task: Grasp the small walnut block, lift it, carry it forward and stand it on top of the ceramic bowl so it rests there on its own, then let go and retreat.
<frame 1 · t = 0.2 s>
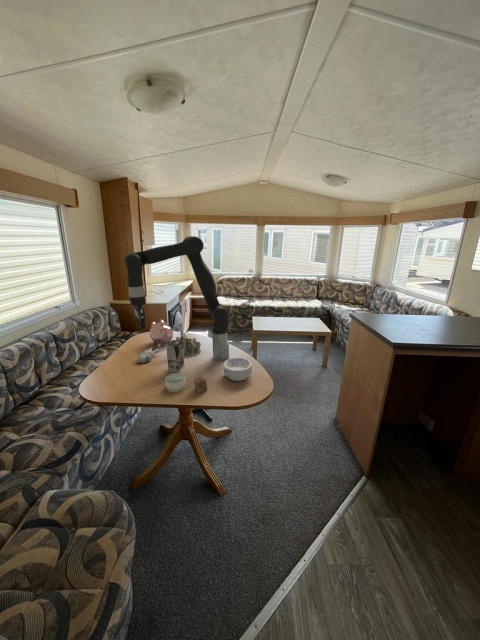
hand: (141, 325, 134), 29 cm above the table, fingers open, 8 cm apart
bunny figurine: (148, 359, 164), on the table
walnut block: (201, 389, 129), on the table
ceramic cottage: (187, 353, 171), on the table
ceramic bowl: (176, 386, 132), on the table
white purple floral bowl: (237, 377, 141), on the table
piggy bank: (162, 343, 188), on the table
coffee box: (176, 368, 151), on the table
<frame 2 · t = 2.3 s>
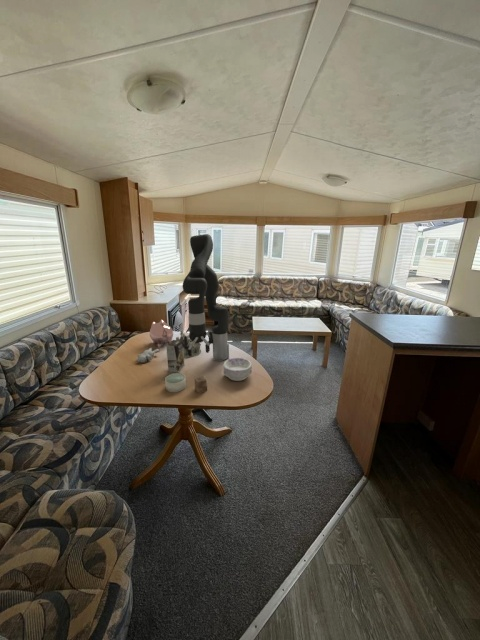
hand: (198, 354, 124), 19 cm above the table, fingers open, 8 cm apart
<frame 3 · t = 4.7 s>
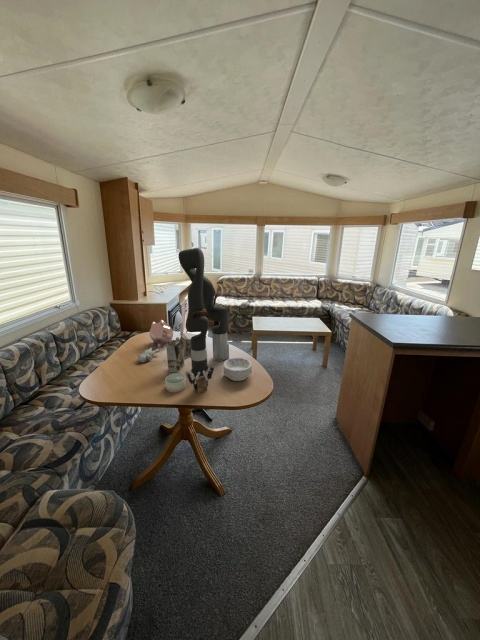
hand: (200, 388, 129), 1 cm above the table, fingers closed on walnut block, 4 cm apart
walnut block: (201, 389, 129), on the table, touching gripper
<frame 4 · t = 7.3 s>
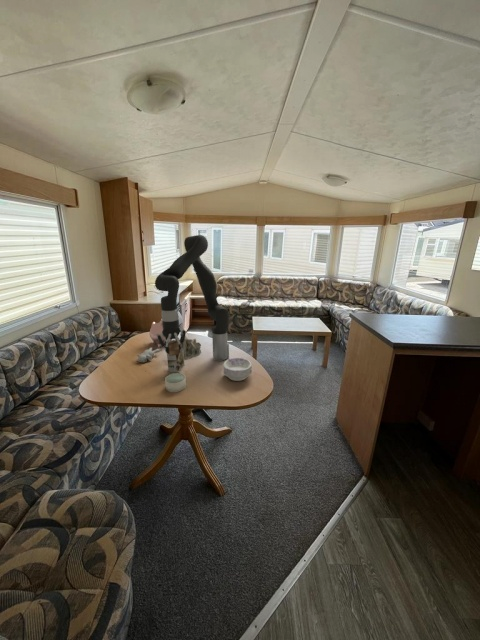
hand: (173, 351, 126), 19 cm above the table, fingers closed on walnut block, 4 cm apart
walnut block: (173, 353, 127), point 18 cm above the table, touching gripper
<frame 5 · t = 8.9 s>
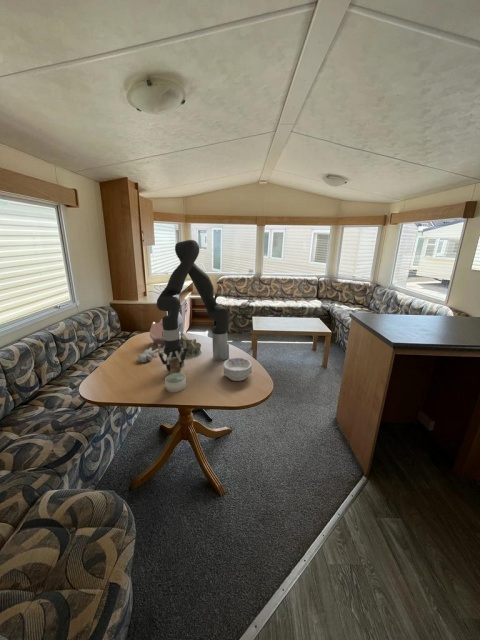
hand: (174, 369, 129), 10 cm above the table, fingers closed on walnut block, 4 cm apart
walnut block: (174, 370, 130), point 9 cm above the table, touching gripper
when the fingers open (7 cm above the table, at t = 10.3 s): walnut block drops 1 cm, resting on ceramic bowl.
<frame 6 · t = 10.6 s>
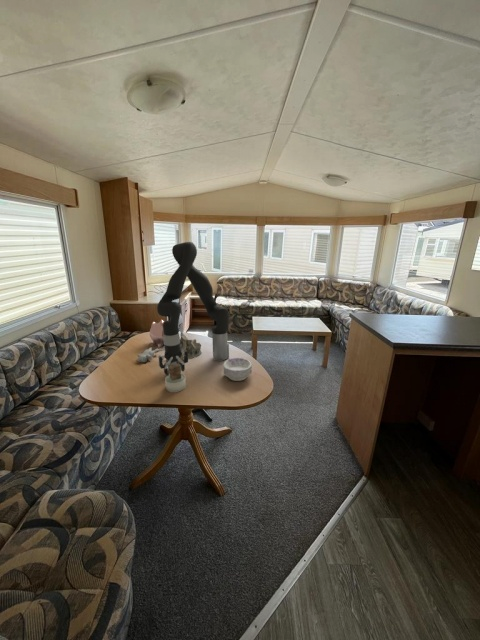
hand: (174, 372, 130), 8 cm above the table, fingers open, 7 cm apart
walnut block: (175, 377, 131), point 5 cm above the table, touching ceramic bowl
ceramic bowl: (176, 386, 132), on the table, touching walnut block
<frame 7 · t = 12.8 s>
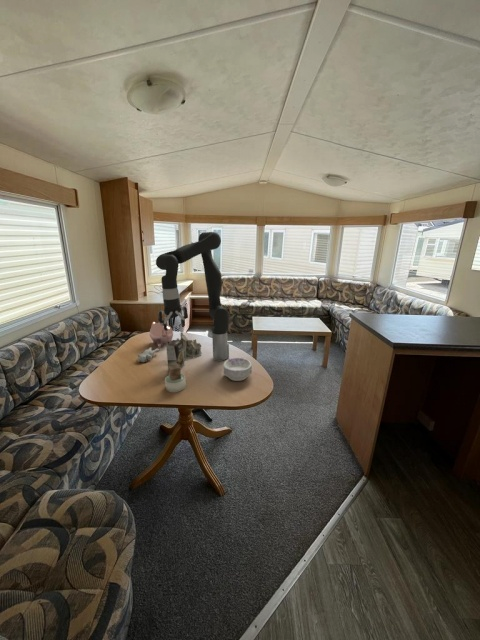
hand: (174, 328, 131), 29 cm above the table, fingers open, 8 cm apart
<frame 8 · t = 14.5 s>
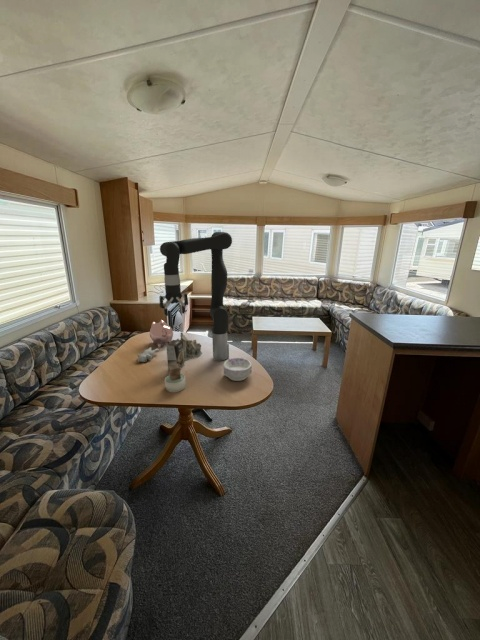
hand: (175, 314, 136), 34 cm above the table, fingers open, 8 cm apart
at the end: walnut block inside the target area on the ceramic bowl (0.1 cm from its centre), point 5.3 cm above the ceramic bowl's base; walnut block tilted 0°; the gripper is holding nothing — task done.
